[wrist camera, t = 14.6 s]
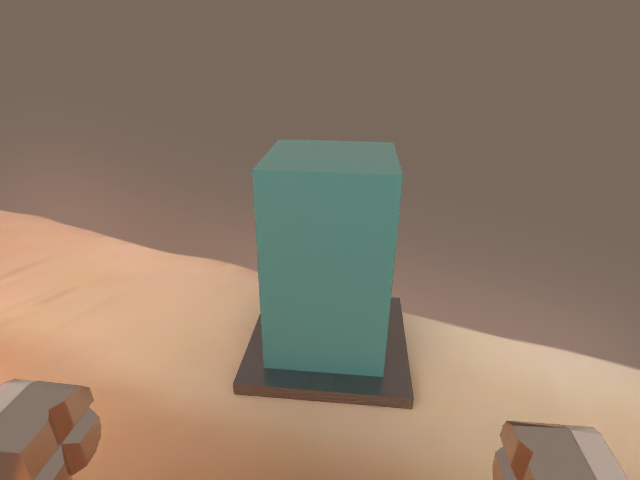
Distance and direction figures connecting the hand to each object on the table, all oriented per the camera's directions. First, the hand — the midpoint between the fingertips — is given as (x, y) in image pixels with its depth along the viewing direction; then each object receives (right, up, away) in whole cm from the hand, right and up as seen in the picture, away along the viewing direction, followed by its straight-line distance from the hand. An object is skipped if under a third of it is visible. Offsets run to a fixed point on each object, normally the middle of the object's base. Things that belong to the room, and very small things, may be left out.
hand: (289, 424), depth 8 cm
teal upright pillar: (+1, -1, +14) cm, 14 cm away
